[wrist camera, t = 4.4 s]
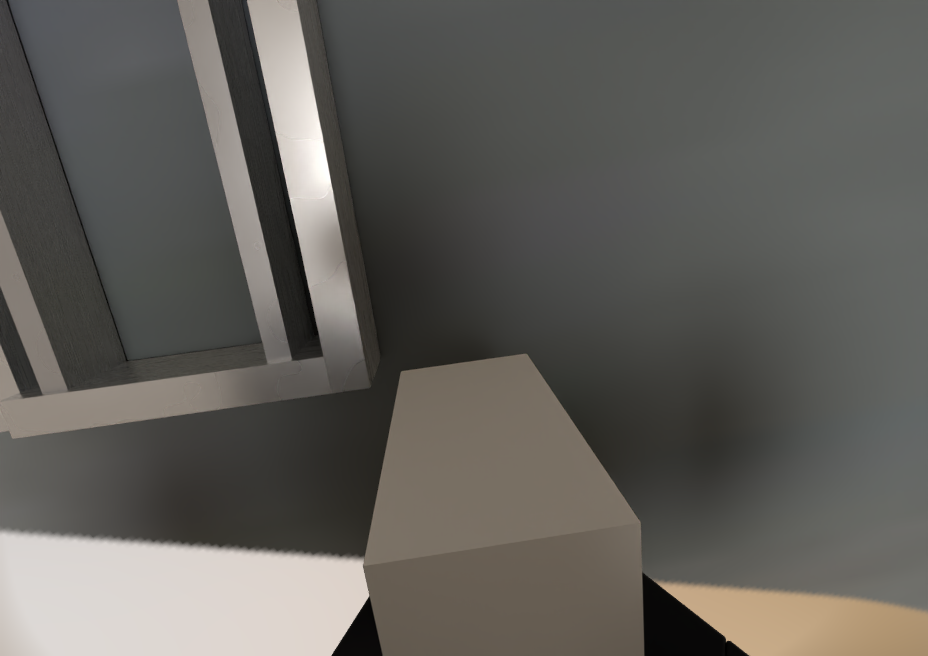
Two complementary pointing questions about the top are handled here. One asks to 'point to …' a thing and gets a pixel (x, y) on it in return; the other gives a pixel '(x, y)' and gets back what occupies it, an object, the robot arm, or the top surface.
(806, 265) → the top surface
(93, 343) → the rack
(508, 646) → the white panel
